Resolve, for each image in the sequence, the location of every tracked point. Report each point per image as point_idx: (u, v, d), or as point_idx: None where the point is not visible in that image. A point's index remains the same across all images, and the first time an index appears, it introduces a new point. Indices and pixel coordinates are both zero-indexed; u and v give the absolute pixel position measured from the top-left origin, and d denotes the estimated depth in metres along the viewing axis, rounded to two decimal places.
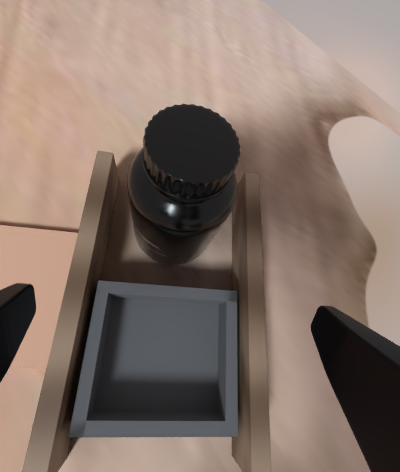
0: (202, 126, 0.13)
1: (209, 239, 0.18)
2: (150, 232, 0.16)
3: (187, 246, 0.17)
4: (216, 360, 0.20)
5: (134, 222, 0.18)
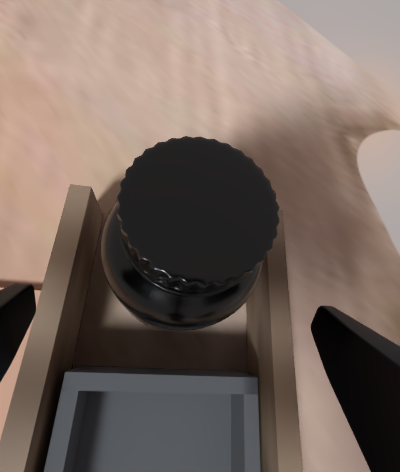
0: (216, 174, 0.08)
1: None
2: (136, 316, 0.11)
3: None
4: (228, 470, 0.14)
5: None
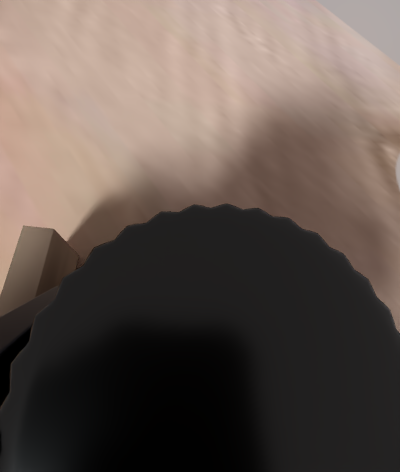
0: (271, 308, 0.03)
1: None
2: None
3: None
4: None
5: None
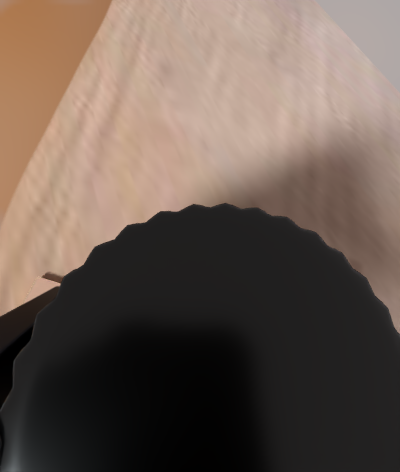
0: (269, 306, 0.03)
1: None
2: None
3: None
4: None
5: None
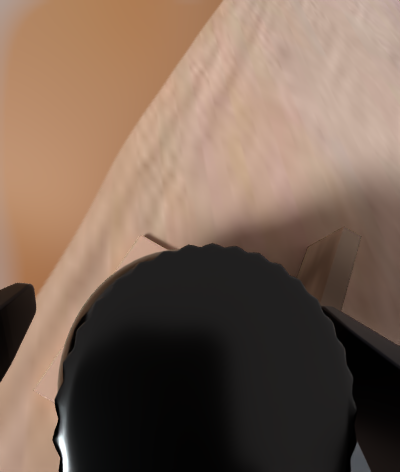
0: (243, 322, 0.04)
1: None
2: None
3: None
4: None
5: None
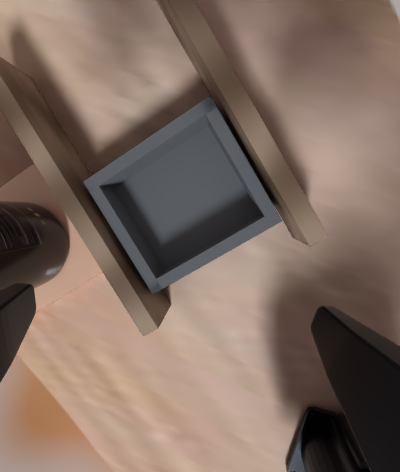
0: None
1: (18, 248, 0.15)
2: None
3: (13, 278, 0.15)
4: (236, 176, 0.19)
5: None
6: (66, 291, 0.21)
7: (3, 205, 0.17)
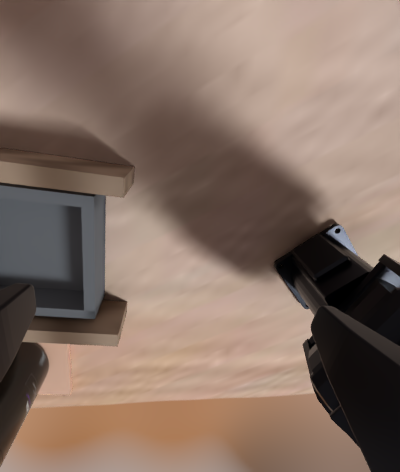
0: None
1: None
2: (13, 437, 0.19)
3: (5, 403, 0.19)
4: None
5: None
6: (66, 358, 0.25)
7: None
